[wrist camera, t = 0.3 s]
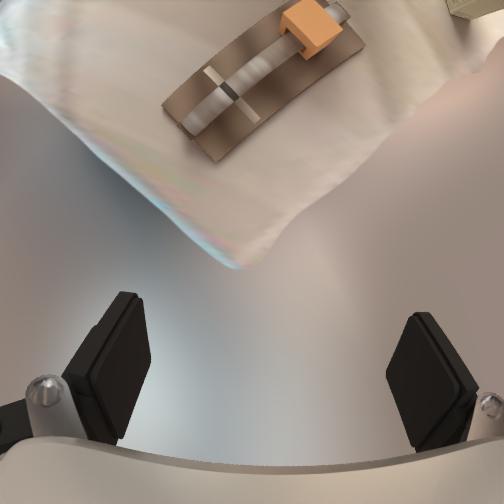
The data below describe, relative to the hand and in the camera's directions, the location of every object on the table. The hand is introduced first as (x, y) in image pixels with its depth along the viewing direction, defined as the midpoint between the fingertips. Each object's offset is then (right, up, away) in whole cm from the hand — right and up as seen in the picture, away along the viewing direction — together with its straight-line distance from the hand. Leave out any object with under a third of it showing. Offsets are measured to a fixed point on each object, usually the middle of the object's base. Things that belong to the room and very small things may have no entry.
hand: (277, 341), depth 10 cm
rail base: (+1, +25, +22) cm, 33 cm away
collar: (+5, +28, +19) cm, 34 cm away
